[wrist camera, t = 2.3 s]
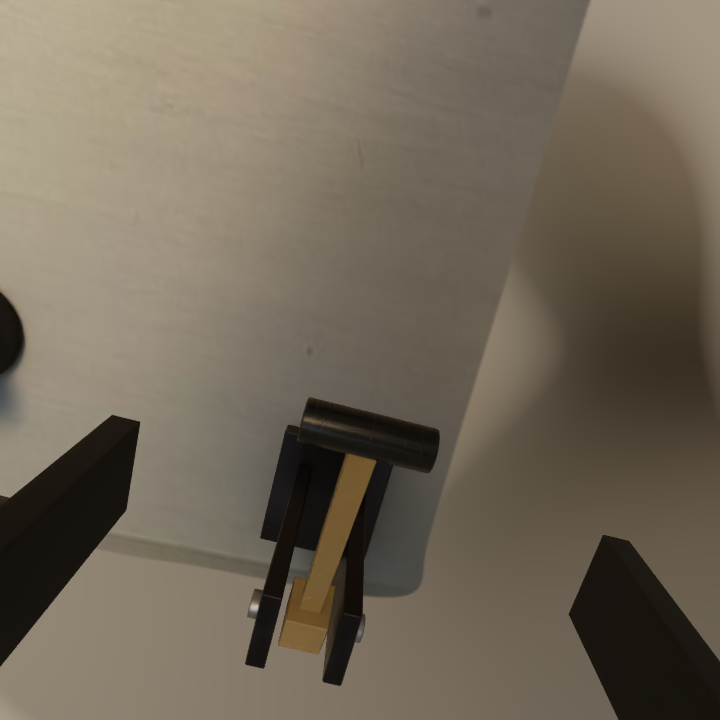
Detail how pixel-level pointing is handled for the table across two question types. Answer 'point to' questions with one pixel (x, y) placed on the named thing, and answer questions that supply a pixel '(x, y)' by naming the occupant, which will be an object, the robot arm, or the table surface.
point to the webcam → (8, 335)
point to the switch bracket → (314, 547)
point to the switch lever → (346, 501)
